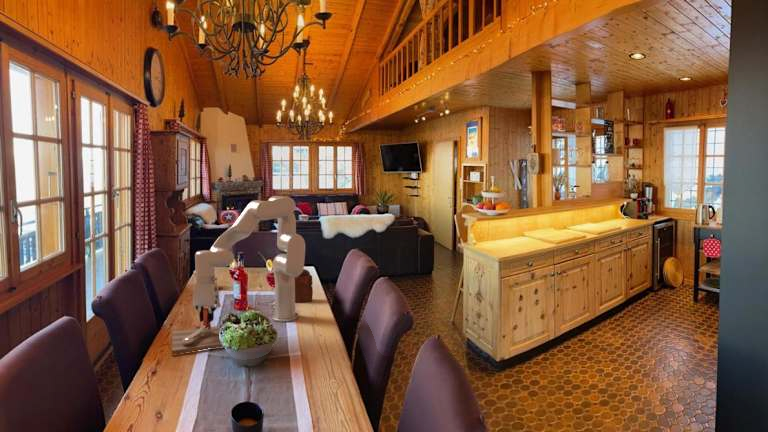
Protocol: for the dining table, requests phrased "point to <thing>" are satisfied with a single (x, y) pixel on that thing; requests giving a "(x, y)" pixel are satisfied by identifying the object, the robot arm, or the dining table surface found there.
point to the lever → (201, 331)
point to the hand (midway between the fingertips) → (206, 320)
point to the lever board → (202, 342)
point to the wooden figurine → (303, 287)
